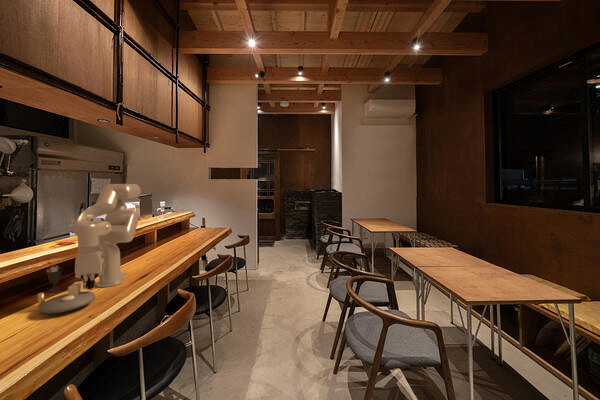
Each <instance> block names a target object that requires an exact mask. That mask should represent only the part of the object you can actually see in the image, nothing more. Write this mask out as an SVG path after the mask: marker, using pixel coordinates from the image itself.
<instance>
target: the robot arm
mask: <svg viewBox="0 0 600 400" xmlns="http://www.w3.org/2000/svg"><path fill="white" fill-rule="evenodd" d="M140 196H141V187H140V186H139V185H138V184H137V183H109V184H106V185H104V186H102V189H101V191H100V193H99V195H98V198H97V200H96V202H95V204H92V205H90V206H89V207H88V208H86V209H85V210H83V211H82V212H81V213H80V214H79V215H78V216H77V219H76V221H75V223H74V226H73V233H74V235H75V236H77V249H78V250H77V251H78V253H76V255H75V261H74V274H75V276H74V278H77V279H82V280H83V282H85V288H86V289H87V291H88V290H93V288H95V286H96V287H97V288H109V287H114V286H118V285H121V284H123V283H124V282H125V278H124V277H123V276H125V275H127V274H128V270H124V271H122V268H121V251H120V250H121V249H120V248H119V246H118V245H117V244H120V243H130V242H131V241H133V239H134V237H135V233H136V230H137V226H138V223H139V215H138V213H137V212H136V211H135V210H131V209H130V210H128V206H127V204H126V202H125V201H123V200H124V199H125V200H128V199H129V200H130V199H137V198H138V197H140ZM101 216H105V217H104V220H94V219H95V218H98V217H101ZM97 277H98V278H99V279H98V280H99V281H97V282H96V279H97Z"/></svg>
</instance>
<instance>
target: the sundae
mask: <svg viewBox="0 0 600 400" xmlns="http://www.w3.org/2000/svg"><path fill="white" fill-rule="evenodd" d="M47 264H49V266H48V268H47V270H46V271H45V272H44V273H45V274H46V275H47V278H48V282H49V283H50V284H52V285H53V287H52V289H50V290H48V293H55V292H60V291H62V288H63V287H58V286H57V285H58V283H59V282H60V281H61V277H62V272H63V271H64V269H63V266H62V265H61V266H59V265H55V264H51V262H50V261H48V262H47Z"/></svg>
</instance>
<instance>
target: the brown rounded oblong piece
mask: <svg viewBox="0 0 600 400" xmlns="http://www.w3.org/2000/svg"><path fill="white" fill-rule="evenodd" d="M45 301H46V300H45V292H38V293H37V305H38V311H39V305H40V304H41V303H43V302H45ZM74 310H75V309H73V310H69V311H64V312H63V313H66V312H71V311H74Z"/></svg>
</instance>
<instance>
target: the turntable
mask: <svg viewBox="0 0 600 400" xmlns="http://www.w3.org/2000/svg"><path fill="white" fill-rule="evenodd" d="M83 283H84V280H83V281H75V282H74V283H72V284H71V285H69V286H68V287H67V293H65V294H61V295H58V296H55V297H51V298H49V299H47V300H45V302H43V303H41V304H40V305H39V310H38V311H39V312H40V313H41V314H57V313H59V314H60V313H65V312H64V311H67V312H70V311H69V310H71V311H74V310H76V309H78V308H81V307H84V306H86V305H89V304H91V303H93V302H94V301H95V299H96V294H95V293H94V292H93V291H83V290H84V284H83ZM73 309H74V310H73Z"/></svg>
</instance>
